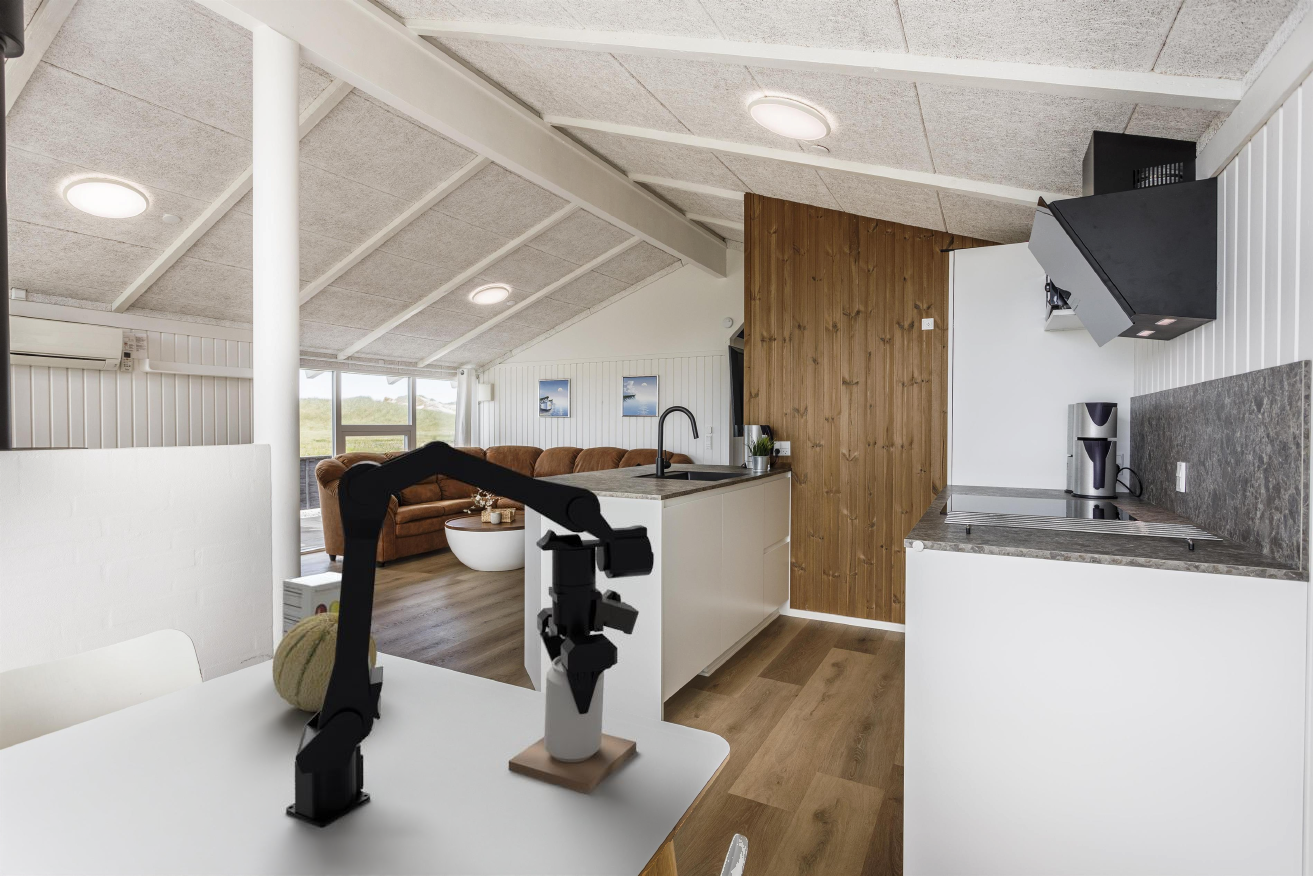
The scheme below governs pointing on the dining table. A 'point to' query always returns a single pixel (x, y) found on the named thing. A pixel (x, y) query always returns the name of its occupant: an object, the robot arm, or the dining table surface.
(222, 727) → the dining table surface
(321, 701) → the cantaloupe
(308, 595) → the supplement box
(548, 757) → the walnut block
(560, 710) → the can
